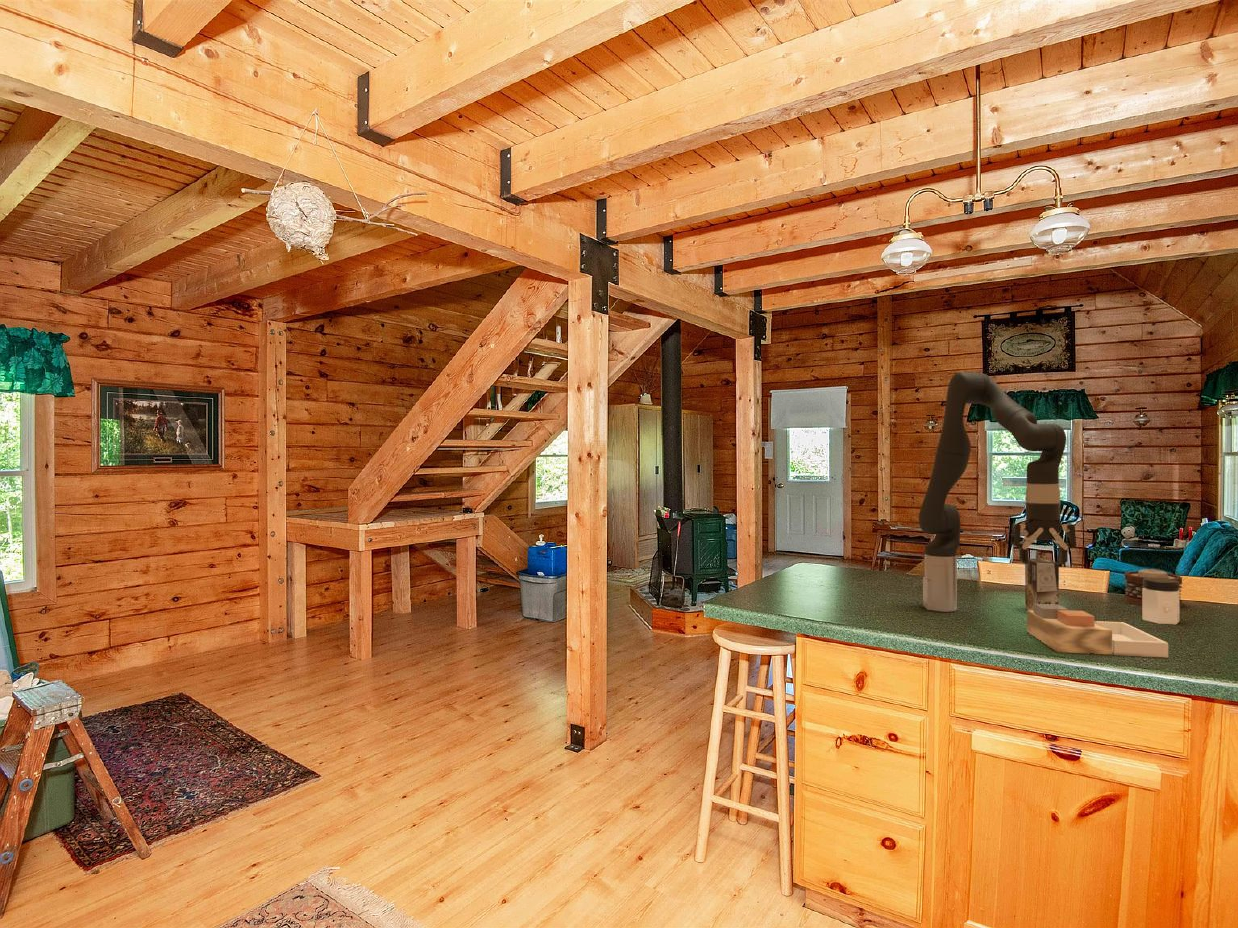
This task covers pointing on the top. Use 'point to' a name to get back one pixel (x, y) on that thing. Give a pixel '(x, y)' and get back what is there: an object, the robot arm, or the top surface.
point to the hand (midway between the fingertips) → (1043, 563)
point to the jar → (1160, 600)
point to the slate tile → (1047, 610)
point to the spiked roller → (1136, 584)
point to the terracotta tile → (1075, 618)
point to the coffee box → (1041, 582)
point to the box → (1134, 641)
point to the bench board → (1070, 635)
